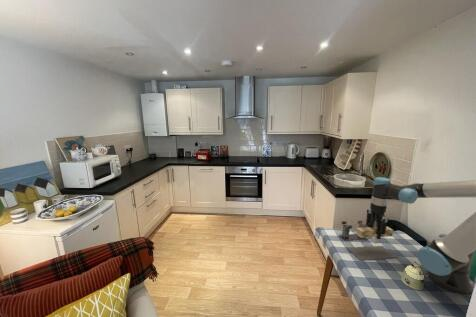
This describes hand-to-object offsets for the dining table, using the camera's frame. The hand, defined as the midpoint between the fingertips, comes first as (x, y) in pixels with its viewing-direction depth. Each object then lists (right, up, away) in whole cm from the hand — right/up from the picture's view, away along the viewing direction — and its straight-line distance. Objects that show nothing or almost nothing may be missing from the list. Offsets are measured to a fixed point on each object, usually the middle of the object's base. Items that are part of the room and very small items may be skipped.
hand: (373, 240), depth 117 cm
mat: (0, -8, +1) cm, 8 cm away
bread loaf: (0, +4, -1) cm, 4 cm away
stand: (-2, -5, +17) cm, 18 cm away
